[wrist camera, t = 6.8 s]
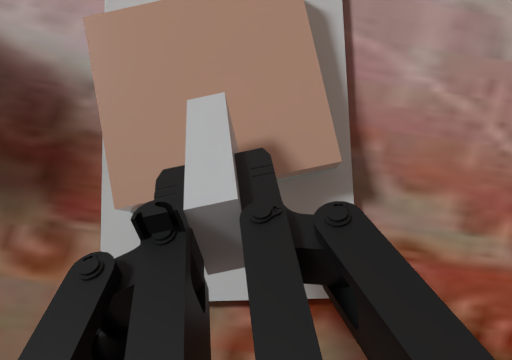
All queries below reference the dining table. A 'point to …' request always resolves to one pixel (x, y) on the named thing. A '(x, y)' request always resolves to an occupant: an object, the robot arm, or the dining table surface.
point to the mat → (291, 190)
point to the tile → (207, 86)
